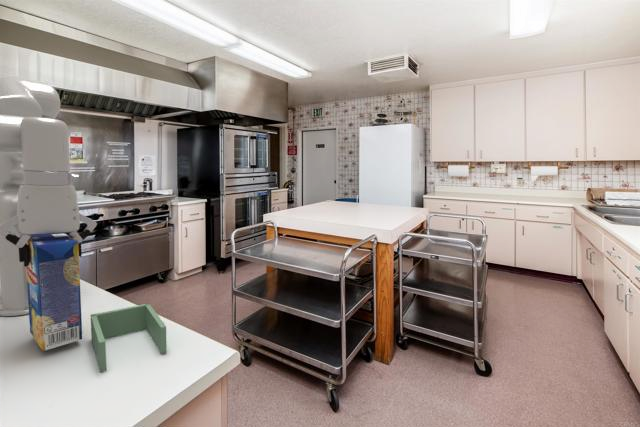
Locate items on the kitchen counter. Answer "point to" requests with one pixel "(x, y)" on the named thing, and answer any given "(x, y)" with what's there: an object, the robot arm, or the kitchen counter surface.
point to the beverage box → (54, 290)
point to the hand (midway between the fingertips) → (52, 261)
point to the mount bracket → (126, 328)
